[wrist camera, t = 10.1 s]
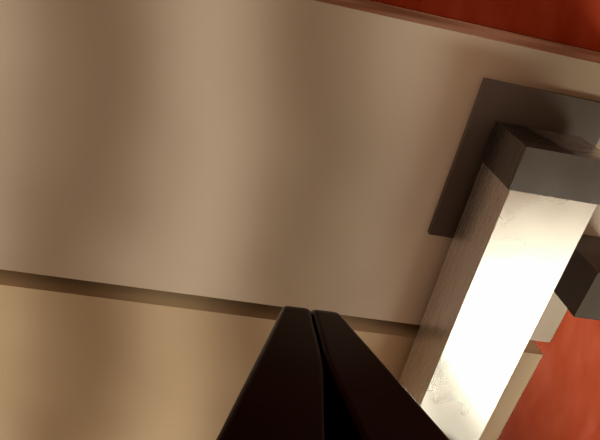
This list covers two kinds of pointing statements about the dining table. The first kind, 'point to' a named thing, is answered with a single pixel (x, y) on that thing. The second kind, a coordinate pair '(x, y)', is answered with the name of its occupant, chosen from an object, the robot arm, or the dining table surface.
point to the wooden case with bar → (244, 193)
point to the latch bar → (500, 272)
